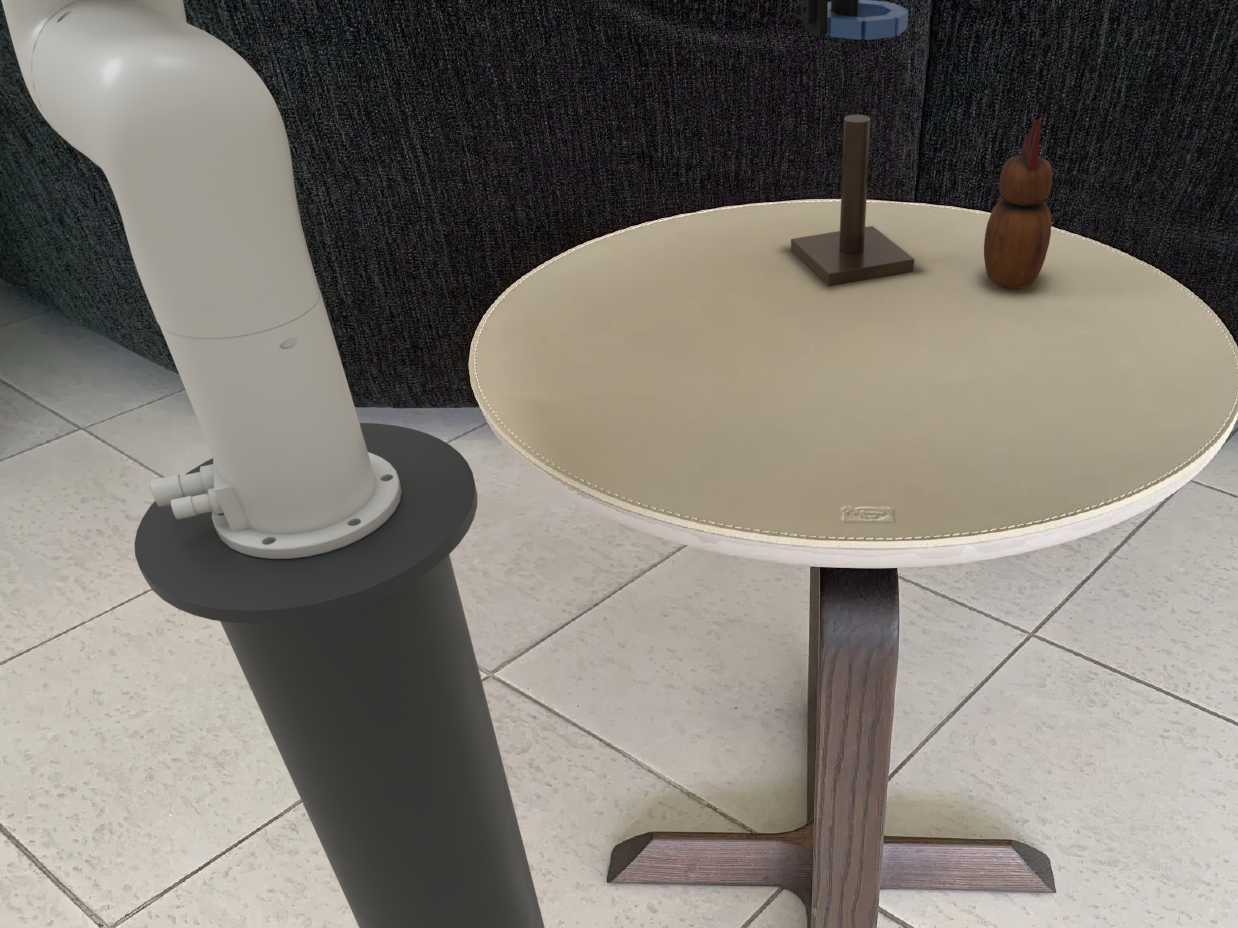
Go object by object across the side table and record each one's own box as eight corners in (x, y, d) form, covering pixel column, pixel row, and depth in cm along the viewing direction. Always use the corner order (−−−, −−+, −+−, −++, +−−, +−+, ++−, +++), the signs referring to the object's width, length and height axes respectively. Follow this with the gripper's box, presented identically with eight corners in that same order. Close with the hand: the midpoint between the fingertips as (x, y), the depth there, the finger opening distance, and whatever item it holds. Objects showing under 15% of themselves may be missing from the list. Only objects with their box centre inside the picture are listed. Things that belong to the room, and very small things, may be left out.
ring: (838, 43, 87) (839, 24, 86) (801, 22, 93) (801, 4, 92) (920, 34, 90) (922, 15, 89) (879, 14, 95) (880, -4, 94)
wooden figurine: (1035, 300, 98) (1063, 128, 88) (973, 290, 99) (994, 120, 90) (1047, 271, 103) (1075, 106, 93) (988, 262, 104) (1010, 99, 95)
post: (828, 286, 100) (832, 139, 91) (790, 250, 106) (791, 110, 98) (913, 271, 103) (925, 127, 94) (872, 237, 109) (879, 99, 100)
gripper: (753, -242, 73) (758, 51, 85) (954, -245, 78) (932, 33, 90) (715, -247, 78) (725, 30, 90) (906, -250, 83) (892, 13, 95)
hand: (828, 29), depth 90 cm, fingers closed on ring, 1 cm apart
